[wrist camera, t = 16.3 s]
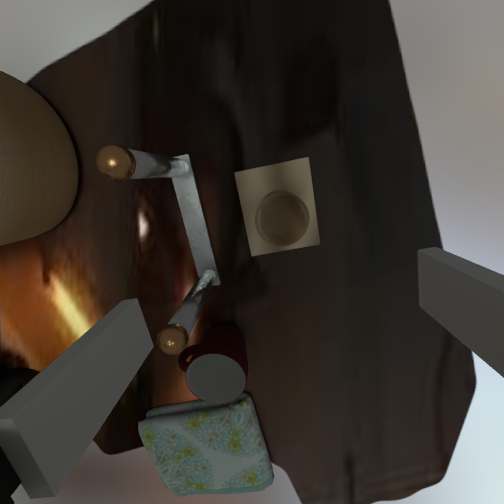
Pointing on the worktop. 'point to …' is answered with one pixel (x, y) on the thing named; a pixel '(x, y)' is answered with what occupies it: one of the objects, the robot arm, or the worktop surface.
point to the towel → (208, 447)
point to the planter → (32, 163)
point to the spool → (281, 218)
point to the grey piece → (185, 183)
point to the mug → (217, 365)
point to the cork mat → (271, 179)
